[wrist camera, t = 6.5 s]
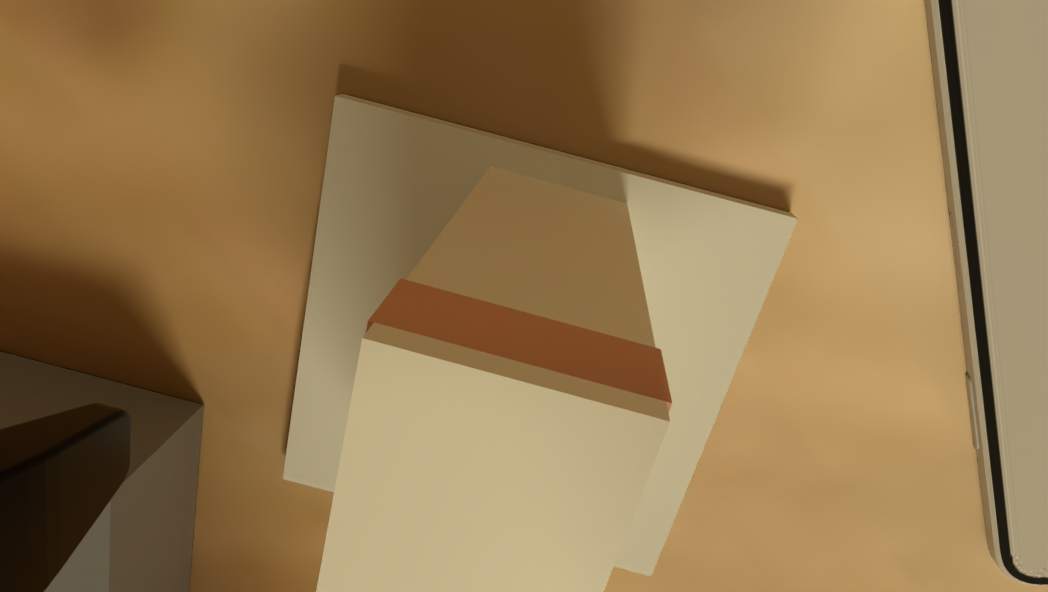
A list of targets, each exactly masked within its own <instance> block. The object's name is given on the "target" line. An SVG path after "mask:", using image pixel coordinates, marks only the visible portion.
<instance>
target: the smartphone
mask: <svg viewBox="0 0 1048 592" xmlns="http://www.w3.org/2000/svg"><path fill="white" fill-rule="evenodd" d="M924 1H925V9H926V18H927V27H928V36H929V44H930V53H931V62H932V70H933V79H934V88H935V96H936V105H937V114H938V123H939V131H940V140H941V149H942V157H943V166H944V175H945V183H946V192H947V201H948V209H949V210H950V213H951V215H950V216H949V218H950V227H951V235H952V244H953V253H954V262H955V270H956V279H957V287H958V296H959V305H960V313H961V322H962V331H963V340H964V348H965V357H966V365H967V373H968V374H967V375H965V376H966V385H967V394H968V402H969V411H970V419H971V428H972V437H973V445H974V448H975V449H976V452H977V461H978V469H979V478H980V487H981V495H982V504H983V513H984V521H985V530H986V538H987V544H988V549H989V552H990V555H991V557H992V558H993V560H994V561H995V562H996V564H997V565H998V566H999V568H1000V569H1001V570H1002V572H1003V573H1004V574H1005V575H1006V576H1008V577H1009V578H1010V579H1012V580H1014V581H1016V582H1019V583H1022V584H1026V585H1032V586H1048V0H924ZM949 206H950V207H949ZM951 210H952V211H951ZM952 214H953V215H952ZM953 222H954V223H953ZM954 231H955V232H954ZM955 239H956V241H955ZM956 248H957V249H956ZM957 256H958V258H957ZM958 265H959V266H958ZM959 273H960V275H959ZM960 282H961V285H960ZM1004 566H1005V567H1004ZM1006 569H1007V570H1006Z"/></svg>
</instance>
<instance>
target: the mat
mask: <svg viewBox="0 0 1048 592" xmlns="http://www.w3.org/2000/svg"><path fill="white" fill-rule="evenodd" d="M490 167H495V168H498V169H502V170H506V171H509V172H513V173H517V174H520V175H524V176H528V177H531V178H535V179H539V180H542V181H546V182H550V183H553V184H557V185H561V186H564V187H568V188H572V189H575V190H579V191H583V192H586V193H590V194H594V195H597V196H601V197H605V198H608V199H612V200H616V201H619V202H623V203H627V205H628V210H629V215H630V220H631V225H632V230H633V235H634V240H635V245H636V251H637V256H638V261H639V266H640V271H641V276H642V281H643V286H644V291H645V296H646V301H647V306H648V311H649V316H650V322H651V327H652V332H653V337H654V342H655V347H656V348H659V349H661V352H662V357H663V362H664V366H665V371H666V376H667V380H668V385H669V390H670V395H671V399H672V406H671V408H670V411H669V418H670V423H669V426H668V429H667V431H666V434H665V436H664V439H663V441H662V444H661V446H660V449H659V452H658V454H657V457H656V459H655V462H654V464H653V467H652V469H651V472H650V475H649V477H648V480H647V482H646V485H645V487H644V490H643V492H642V495H641V498H640V500H639V503H638V505H637V508H636V510H635V513H634V515H633V518H632V521H631V523H630V526H629V528H628V531H627V533H626V536H625V538H624V541H623V544H622V546H621V549H620V551H619V554H618V556H617V559H616V561H615V564H614V567H617V568H621V569H625V570H629V571H632V572H636V573H640V574H644V575H648V576H651V575H652V573H653V570H654V568H655V566H656V563H657V561H658V558H659V556H660V553H661V551H662V549H663V546H664V544H665V541H666V539H667V536H668V534H669V532H670V529H671V527H672V524H673V522H674V519H675V517H676V515H677V512H678V510H679V507H680V505H681V502H682V500H683V498H684V495H685V493H686V490H687V488H688V485H689V483H690V481H691V478H692V476H693V473H694V471H695V468H696V466H697V463H698V461H699V459H700V456H701V454H702V451H703V449H704V446H705V444H706V442H707V439H708V437H709V434H710V432H711V429H712V427H713V425H714V422H715V420H716V417H717V415H718V412H719V410H720V408H721V405H722V403H723V400H724V398H725V395H726V393H727V391H728V388H729V386H730V383H731V381H732V378H733V376H734V374H735V371H736V369H737V366H738V364H739V361H740V359H741V357H742V354H743V352H744V349H745V347H746V344H747V342H748V339H749V337H750V335H751V332H752V330H753V327H754V325H755V322H756V320H757V318H758V315H759V313H760V310H761V308H762V305H763V303H764V301H765V298H766V296H767V293H768V291H769V288H770V286H771V284H772V281H773V279H774V276H775V274H776V271H777V269H778V267H779V264H780V262H781V259H782V257H783V254H784V252H785V250H786V247H787V245H788V242H789V240H790V237H791V235H792V232H793V230H794V228H795V225H796V223H797V220H798V218H797V217H796V216H794V215H793V214H792V213H790V212H786V211H783V210H779V209H775V208H771V207H767V206H764V205H760V204H756V203H752V202H749V201H745V200H741V199H737V198H734V197H730V196H726V195H722V194H719V193H715V192H711V191H707V190H703V189H700V188H696V187H692V186H688V185H685V184H681V183H677V182H673V181H670V180H666V179H662V178H658V177H654V176H651V175H647V174H643V173H639V172H636V171H632V170H628V169H624V168H621V167H617V166H613V165H609V164H606V163H602V162H598V161H594V160H590V159H587V158H583V157H579V156H575V155H572V154H568V153H564V152H560V151H557V150H553V149H549V148H545V147H542V146H538V145H534V144H530V143H526V142H523V141H519V140H515V139H511V138H508V137H504V136H500V135H496V134H493V133H489V132H485V131H481V130H477V129H474V128H470V127H466V126H462V125H459V124H455V123H451V122H447V121H444V120H440V119H436V118H432V117H429V116H425V115H421V114H417V113H413V112H410V111H406V110H402V109H398V108H395V107H391V106H387V105H383V104H380V103H376V102H372V101H368V100H365V99H361V98H357V97H353V96H349V95H346V94H340V95H336V96H335V99H334V106H333V114H332V121H331V128H330V136H329V143H328V150H327V158H326V165H325V172H324V180H323V187H322V194H321V202H320V209H319V216H318V224H317V231H316V238H315V246H314V253H313V260H312V268H311V275H310V282H309V290H308V297H307V304H306V312H305V319H304V326H303V334H302V341H301V348H300V356H299V363H298V371H297V378H296V385H295V393H294V400H293V407H292V415H291V422H290V429H289V437H288V444H287V451H286V459H285V466H284V473H283V479H284V480H288V481H292V482H296V483H299V484H303V485H307V486H311V487H315V488H318V489H322V490H326V491H330V492H333V493H334V491H335V485H336V480H337V474H338V469H339V463H340V458H341V452H342V447H343V441H344V436H345V430H346V425H347V419H348V414H349V408H350V403H351V397H352V392H353V386H354V380H355V375H356V369H357V364H358V358H359V353H360V347H361V342H362V338H363V336H364V335H365V334H366V328H367V323H368V320H369V319H370V317H371V316H372V315H373V313H374V312H375V311H376V310H377V308H378V307H379V306H380V304H381V303H382V302H383V300H384V299H385V298H386V297H387V295H388V294H389V293H390V291H391V290H392V289H393V288H394V286H395V285H396V284H397V282H398V281H399V280H400V278H401V279H405V280H406V279H407V278H408V276H409V275H410V274H411V272H412V271H413V270H414V268H415V267H416V266H417V264H418V263H419V262H420V260H421V259H422V258H423V256H424V255H425V254H426V252H427V251H428V249H429V248H430V247H431V245H432V244H433V243H434V241H435V240H436V239H437V237H438V236H439V235H440V233H441V232H442V231H443V229H444V228H445V227H446V225H447V224H448V223H449V221H450V220H451V219H452V217H453V216H454V215H455V213H456V212H457V211H458V209H459V208H460V207H461V205H462V204H463V203H464V201H465V200H466V199H467V197H468V196H469V195H470V193H471V192H472V191H473V189H474V188H475V187H476V185H477V184H478V183H479V181H480V180H481V179H482V177H483V176H484V175H485V173H486V172H487V171H488V169H489V168H490Z"/></svg>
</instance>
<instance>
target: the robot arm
mask: <svg viewBox="0 0 1048 592" xmlns="http://www.w3.org/2000/svg"><path fill="white" fill-rule="evenodd" d="M131 436H132V418H131V415H130V413H129V412H128V411H127V410H125V409H122V408H118V407H115V406H111V405H107V404H103V403H91V404H88V405H84V406H80V407H77V408H73V409H70V410H66V411H63V412H59V413H56V414H52V415H49V416H45V417H41V418H38V419H34V420H31V421H27V422H24V423H20V424H17V425H13V426H9V427H6V428H2V429H0V592H44V591H45V590H46V589H47V587H48V586H49V585H50V584H51V582H52V581H53V580H54V578H55V577H56V576H57V574H58V573H59V572H60V570H61V569H62V568H63V566H64V565H65V563H66V562H67V561H68V559H69V558H70V556H71V555H72V554H73V552H74V551H75V549H76V548H77V547H78V545H79V544H80V542H81V541H82V540H83V538H84V537H85V535H86V534H87V533H88V531H89V530H90V528H91V527H92V526H93V524H94V523H95V521H96V520H97V519H98V517H99V516H100V514H101V513H102V512H103V510H104V509H105V507H106V506H107V505H108V503H109V502H110V500H111V499H112V498H113V496H114V495H115V493H116V492H117V491H118V489H119V488H120V486H121V485H122V483H123V482H124V480H125V478H126V476H127V474H128V471H129V468H130V462H131Z"/></svg>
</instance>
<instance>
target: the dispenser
mask: <svg viewBox="0 0 1048 592" xmlns="http://www.w3.org/2000/svg"><path fill="white" fill-rule="evenodd" d="M91 403H103V404H107V405H111V406H115V407H118V408H122V409H125V410H127V411H128V412H129V413H130V415H131V418H132V436H131V462H130V468H129V471H128V474H127V476H126V478H125V480H124V482H123V483H122V485H121V486H120V488H119V489H118V491H117V492H116V493H115V495H114V496H113V498H112V499H111V500H110V502H109V503H108V505H107V506H106V507H105V509H104V510H103V512H102V513H101V514H100V516H99V517H98V519H97V520H96V521H95V523H94V524H93V526H92V527H91V528H90V530H89V531H88V533H87V534H86V535H85V537H84V538H83V540H82V541H81V542H80V544H79V545H78V547H77V548H76V549H75V551H74V552H73V554H72V555H71V556H70V558H69V559H68V561H67V562H66V563H65V565H64V566H63V568H62V569H61V570H60V572H59V573H58V574H57V576H56V577H55V578H54V580H53V581H52V582H51V584H50V585H49V586H48V587H47V589H46V590H45V591H44V592H189V584H190V571H191V559H192V546H193V533H194V521H195V508H196V495H197V483H198V470H199V457H200V445H201V432H202V420H203V407H204V405H201V404H198V403H194V402H190V401H186V400H183V399H179V398H175V397H171V396H167V395H164V394H160V393H156V392H152V391H148V390H145V389H141V388H137V387H133V386H130V385H126V384H122V383H118V382H114V381H111V380H107V379H103V378H99V377H96V376H92V375H88V374H84V373H80V372H77V371H73V370H69V369H65V368H61V367H58V366H54V365H50V364H46V363H43V362H39V361H35V360H31V359H27V358H24V357H20V356H16V355H12V354H9V353H5V352H1V351H0V429H2V428H6V427H9V426H13V425H17V424H20V423H24V422H27V421H31V420H34V419H38V418H41V417H45V416H49V415H52V414H56V413H59V412H63V411H66V410H70V409H73V408H77V407H80V406H84V405H88V404H91Z"/></svg>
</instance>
